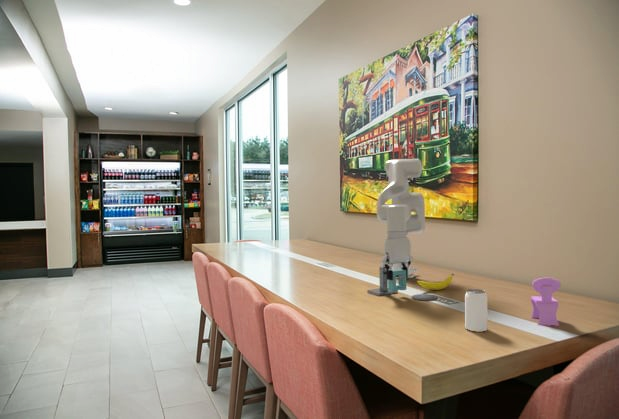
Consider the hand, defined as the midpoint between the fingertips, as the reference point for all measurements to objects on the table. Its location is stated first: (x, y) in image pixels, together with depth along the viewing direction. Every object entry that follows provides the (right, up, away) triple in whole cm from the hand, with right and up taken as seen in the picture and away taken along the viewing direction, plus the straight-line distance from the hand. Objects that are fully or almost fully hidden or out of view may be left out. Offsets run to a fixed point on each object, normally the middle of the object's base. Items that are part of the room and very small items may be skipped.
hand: (397, 278), depth 181 cm
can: (+16, -9, -43) cm, 47 cm away
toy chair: (+41, -9, -37) cm, 56 cm away
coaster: (+11, -8, -2) cm, 13 cm away
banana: (+19, -7, +12) cm, 23 cm away
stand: (-2, -8, +5) cm, 9 cm away
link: (0, -5, 0) cm, 5 cm away
